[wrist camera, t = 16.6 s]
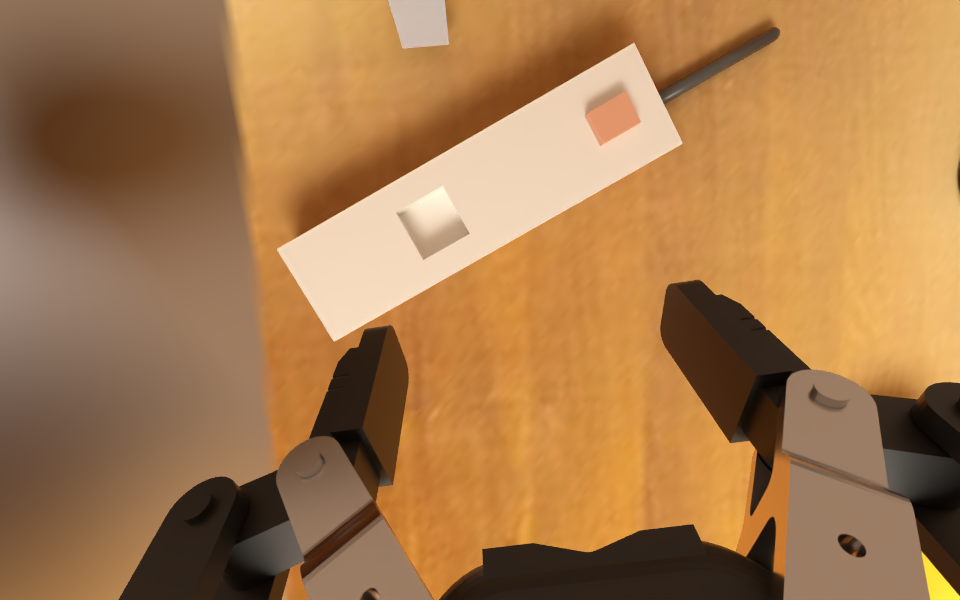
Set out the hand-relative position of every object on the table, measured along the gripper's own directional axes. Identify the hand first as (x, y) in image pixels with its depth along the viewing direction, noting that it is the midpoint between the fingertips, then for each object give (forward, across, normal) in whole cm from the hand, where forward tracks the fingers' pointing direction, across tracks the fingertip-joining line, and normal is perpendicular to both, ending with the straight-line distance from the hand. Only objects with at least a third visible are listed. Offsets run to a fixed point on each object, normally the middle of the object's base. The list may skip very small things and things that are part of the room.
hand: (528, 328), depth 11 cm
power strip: (+23, -5, +2) cm, 23 cm away
